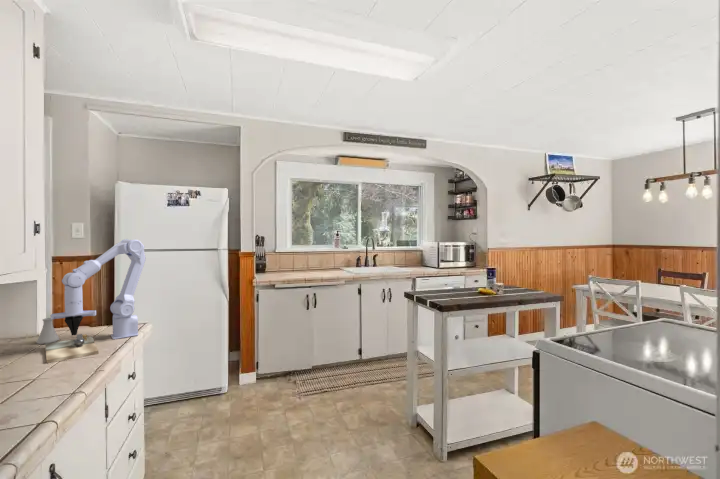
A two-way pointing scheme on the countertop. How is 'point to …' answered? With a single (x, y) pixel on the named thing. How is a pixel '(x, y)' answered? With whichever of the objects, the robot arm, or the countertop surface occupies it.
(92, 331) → the countertop surface
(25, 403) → the countertop surface
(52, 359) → the lock board
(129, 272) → the robot arm
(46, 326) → the flask
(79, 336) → the latch bar
